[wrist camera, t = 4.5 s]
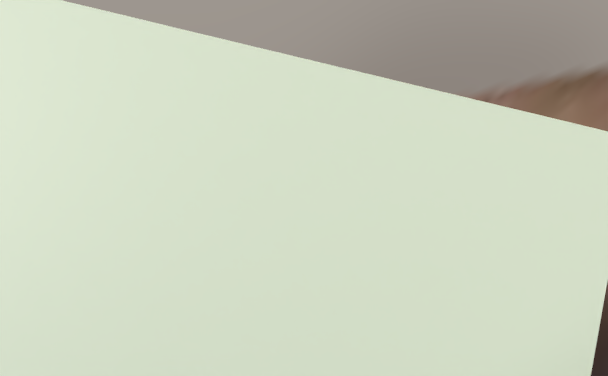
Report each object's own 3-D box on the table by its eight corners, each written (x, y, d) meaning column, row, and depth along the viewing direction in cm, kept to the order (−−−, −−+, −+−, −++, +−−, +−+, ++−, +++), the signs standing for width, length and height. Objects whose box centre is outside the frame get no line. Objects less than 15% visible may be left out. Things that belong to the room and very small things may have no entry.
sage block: (317, 396, 15) (481, 1001, 3) (131, 355, 15) (-432, 830, 3) (357, 211, 16) (632, 137, 4) (177, 170, 15) (-151, -50, 4)
